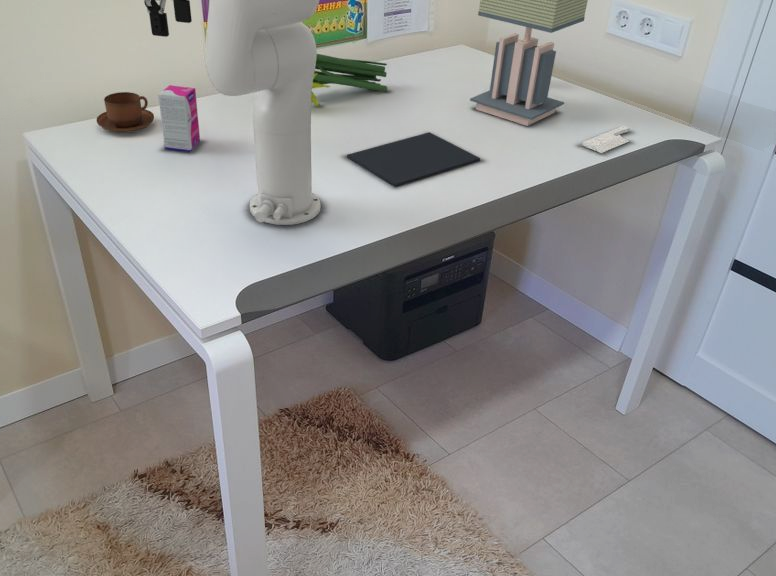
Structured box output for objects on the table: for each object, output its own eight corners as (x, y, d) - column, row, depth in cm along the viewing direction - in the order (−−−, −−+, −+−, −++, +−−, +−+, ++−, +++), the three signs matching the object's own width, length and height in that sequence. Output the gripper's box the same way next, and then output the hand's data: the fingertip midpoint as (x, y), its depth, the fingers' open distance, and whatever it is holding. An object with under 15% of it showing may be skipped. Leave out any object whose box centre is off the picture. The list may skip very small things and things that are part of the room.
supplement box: (191, 153, 147) (184, 96, 140) (164, 150, 148) (155, 94, 141) (201, 142, 151) (195, 87, 144) (175, 139, 152) (167, 84, 145)
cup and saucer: (119, 113, 163) (114, 85, 159) (165, 120, 160) (161, 92, 156) (86, 132, 154) (80, 103, 150) (135, 140, 151) (130, 111, 147)
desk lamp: (466, 108, 171) (484, -48, 150) (499, 93, 179) (521, -56, 158) (532, 129, 161) (562, -34, 141) (565, 113, 169) (597, -43, 149)
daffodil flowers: (403, 105, 173) (276, 88, 153) (367, 120, 185) (244, 107, 165) (398, 33, 172) (269, 7, 152) (362, 53, 184) (238, 31, 164)
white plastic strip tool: (641, 136, 159) (643, 131, 158) (601, 153, 152) (602, 148, 151) (622, 129, 162) (623, 124, 161) (581, 145, 155) (582, 140, 154)
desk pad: (395, 187, 137) (395, 184, 137) (346, 157, 147) (346, 154, 147) (479, 160, 147) (480, 158, 147) (429, 134, 157) (429, 132, 157)
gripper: (156, -65, 119) (170, 43, 130) (200, -81, 132) (209, 19, 143) (115, -69, 121) (132, 39, 131) (162, -84, 134) (174, 15, 144)
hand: (172, 28), depth 137 cm, fingers open, 9 cm apart
